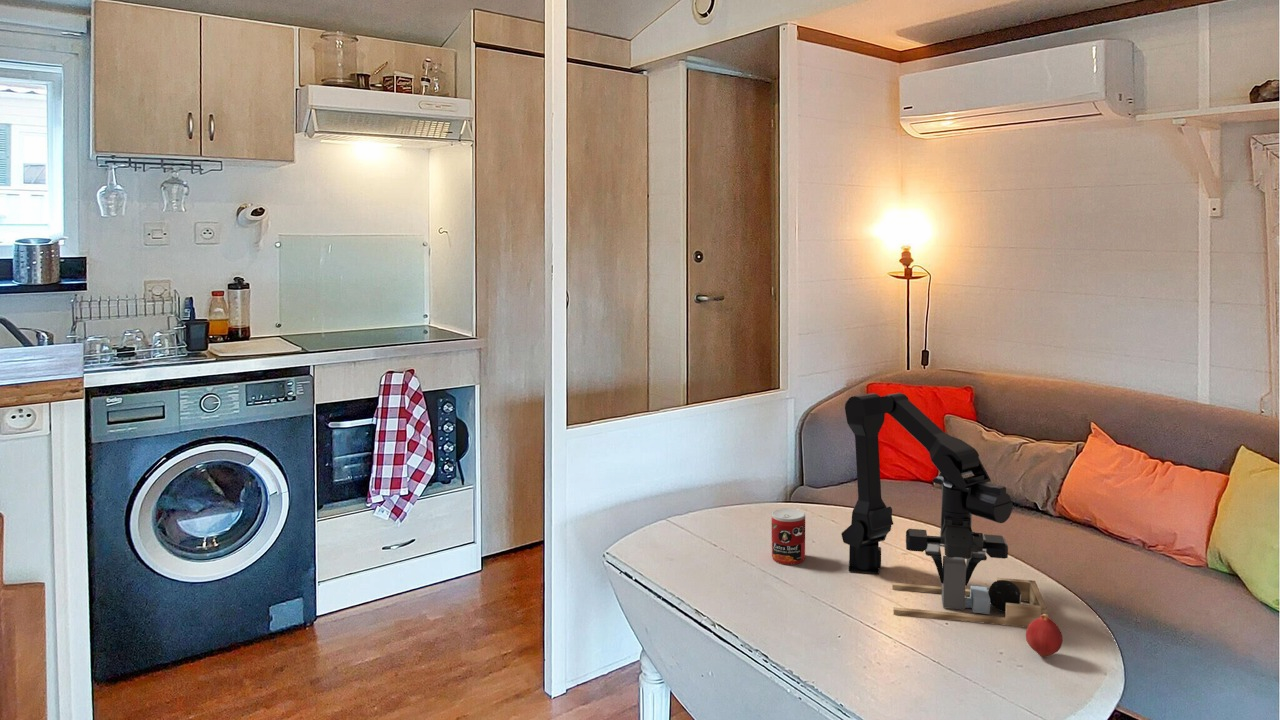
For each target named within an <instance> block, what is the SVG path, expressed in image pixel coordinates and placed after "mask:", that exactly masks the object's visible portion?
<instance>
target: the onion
mask: <svg viewBox="0 0 1280 720" xmlns="http://www.w3.org/2000/svg"><path fill="white" fill-rule="evenodd" d="M1026 628H1027V629H1026V632H1025V639H1026V641H1027V643H1028V645H1029V647H1030V648H1031V649H1032V650H1033V651H1034V652H1036V653H1037V654H1038V656H1039V657H1041V658H1043V659H1044V658H1048V657H1050V656H1052V655H1054V654H1056V653H1057V652H1059V650H1061V647H1062V645H1063V639H1064V638H1063V633H1062V631H1061V628H1060V627H1059V625H1057V624H1056V622H1055V621H1054V620H1052V619H1051V618H1050V617H1049V614H1048V615H1046V614H1042V615H1041V617H1040V618H1037V619H1035V620H1034V621H1032V622H1031V623H1030V624H1029V626H1028V627H1026Z"/></svg>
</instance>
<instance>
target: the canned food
mask: <svg viewBox="0 0 1280 720" xmlns="http://www.w3.org/2000/svg"><path fill="white" fill-rule="evenodd" d="M771 557H772V561H774V562H775V561H776V563H778V564H780V563H781V565H787V564H788V565H789V566H790V565H791V564H793V565H797V564H801V563H802V562H804V560H805V558H806V513H805V512H804V511H803V510H801V509H797V508H789V507H788V508H784V507H783V508H778V509H775V510H773V511H772V513H771ZM791 566H792V565H791Z"/></svg>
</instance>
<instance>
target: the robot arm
mask: <svg viewBox="0 0 1280 720" xmlns="http://www.w3.org/2000/svg"><path fill="white" fill-rule="evenodd" d="M844 410H845V411H844V412H845V417H846V418H845V419H846V422H847V423H846V424H847V425H848V427H849V428H850V430H851V432H852V433H853V435H854V441H855V443H854V444H855V460H856V462H855V463H856V480H857V501H856V503H855V505H854V507H853V509H852V512H851V521H850V522H851V523H850V525H849V526H848V527H846V529H844V530H843V531H842V532H841V533H840V534H841V539H842V542H843V544H846V545H848V546H849V547H848V548H849V550H848V551H849V554H848V555H849V556H848V569H847V571H848V572H849V573H862V574H874V575H877V574H880V573H879V572H880V571H879V570H880V569H881V568H882V547H881V546H879V542H884V541H886V539H887V535H888V534H889V533H890V532H891V530H892V526H893V525H894V521H893V509H892V506H887V504H886V503H885V502H884V501H883V497H882V487H881V486H882V485H881V482H882V481H881V468H880V466H881V464H880V445H879V443H880V442H879V434H880V431H881V429H882V426H883V425H884V423H885V415H886V414H888V415H890V416H891V417H892V418H893V419H894V420H895V421H896V422H897V423H899V425H901V427H903V428H904V430H906V432H908V433H909V434H910V435H911V436H912V437H913V438H914V439H915V440H916V441H917V442H918V443H920V444H921V445H922V446H923V447H924V448H925V449H926V450H927V452H928V454H929V458H930V460H931V462H932V464H933V465H934V466H935V468H936V469H937V470H938V471H939V474H938V476H936V477H935V478H933V479H932V483H934V484H938V485H941V503H940V504H941V505H940V506H941V509H940V535H939V536H937V535H928V534H927V533H928V532H927V529H921V528H920V529H919V528H908V529H907V530H906V531H905V547H906V548H905V550H907V551H909V552H918V553H919V552H921V553H922V552H925V555H926V556H927V557H931V559H932V560H933V562H934V565H935V567H936V570H937V574H938V578H939V580H940V584H941V585H942V584H943V580H944V576H943V556H942V551H941V548H943V547H944V556H947V557H950V558H953V557H959V558H964V559H965V562H966V585H965V587H966V586H968V584H969V582H970V580H971V577H972V575H973V572H974V571H975V568H976V567H977V566H978V564H980V562H982V561H987V559H988V557H989V558H995V559H1004V560H1005V559H1008V557H1009V547H1008V546H1009V545H1008V542H1007V539H1005V537H1004V536H1003V535H998V534H997V535H996V534H987V533H985V534H984V533H983V532H975V531H973V529H972V523H973V519H972V518H973V516H975V517H979V518H981V519H985V520H989V521H992V522H994V523H998V524H1004V523H1006V522H1007V521H1008V519H1010V517H1011V515H1012V512H1013V507H1014V504H1013V502H1012V498H1011V495H1010V494H1009V493H1007V487H1006V486H1004V485H998V484H997V485H996V484H992V483H990V482H991V478H990V476H989V474H988V473H987V470H986V468H985V467H984V465H983V463H982V461H981V459H980V454H979V452H978V450H976V449H975V448H974V446H972V445H970V444H969V443H967V442H965V441H964V440H962V439H961V438H957V437H954V436H953V435H952V436H951V435H949V434H948V433H946V432H944V431H943V430H942V429H941V428H940V427H939V426H938V425H937V424H936V423H935V422H934V421H932V420H931V419H930V418H929V417H928V416H927V415H926V414H925V413H924V412H922V410H920V409H919V408H918V407H917V406H916V405H915V404H914V403H912V402H911V401H910V399H909V397H908V396H907V395H906V394H905V393H901V392H895V393H889V394H885V395H882V396H881V395H879V394H878V393H875V392H873V393H872V392H871V393H866V394H859V395H854V396H853V395H852V396H851V397H849V398H848V399H847V400H846V401H845V404H844ZM972 474H973V475H972ZM968 475H972V476H968ZM963 476H967V477H963ZM987 555H988V557H987Z"/></svg>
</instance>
